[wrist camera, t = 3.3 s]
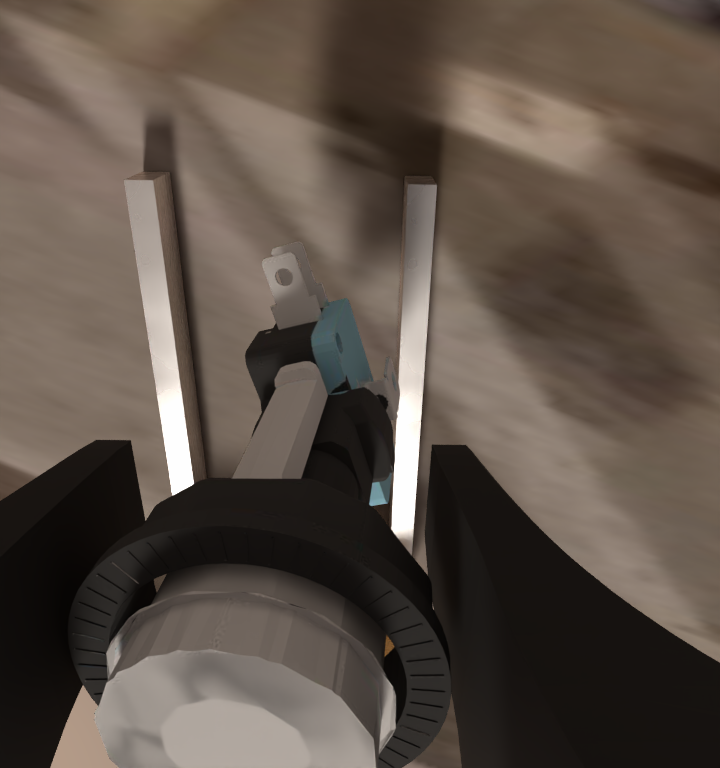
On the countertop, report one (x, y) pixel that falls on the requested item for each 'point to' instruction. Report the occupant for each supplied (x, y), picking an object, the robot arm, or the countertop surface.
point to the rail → (173, 347)
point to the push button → (274, 580)
